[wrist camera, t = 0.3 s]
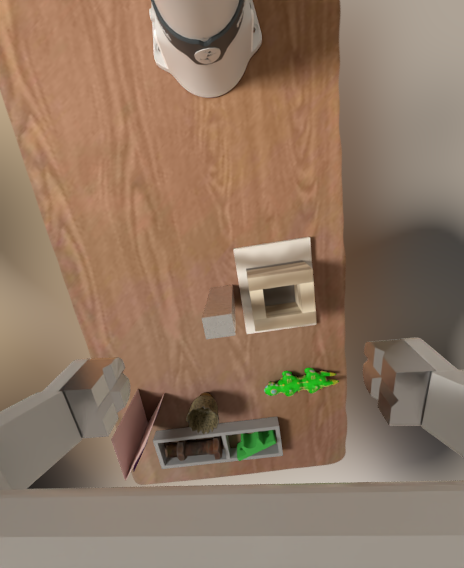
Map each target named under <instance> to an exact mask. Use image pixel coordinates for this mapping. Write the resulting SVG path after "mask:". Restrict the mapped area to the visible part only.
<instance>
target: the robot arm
mask: <svg viewBox="0 0 464 568" xmlns="http://www.w3.org/2000/svg"><path fill="white" fill-rule="evenodd" d="M151 1H152V8H150V9H149V13H150V18H151V21H152V24H153V48H154V59H155V62H156V64H157V65H158V66H159V67H160V68H161V69H163V70H165V71H167V72H169V73H171V74H172V75H173V76H174V77H175V78H176V80H177V81H178V82H179V83H180V84H181V85H182V86H183V87H184V88H185V89H186V90H187V91H189V92H191V93H192V94H194V95H197V96H200V97H206V98H210V97H217V96H220V95H223V94H225V93H227V92H228V91H230V90H231V89H232V88H233V87H234V86H235V85H236V84H237V83H238V82H239V80H240V79H241V77H242V76H243V74H244V72H245V69H246V67H247V64H248V62H249V60H250V58H251V57H252V56H253V55H254V53H255V52H256V51H257V50H258V49H259V47H260V46H261V43H262V34H261V30H260V26H259V23H258V19H257V15H256V11H255V8H254V4H253V0H151ZM253 30H255V32H254V33H253ZM159 49H160V52H159ZM364 354H365V355H366V357H367V358H368V360H367V361H366V362H365V363H364V364H363V378H364V383H365V386H366V388H367V390H368V392H369V393H370V395H371V396H372V397H374V398H376V399H377V400H378V408H379V410H380V412H381V413H382V415H383V416H384V418H385V420H386V421H387V423H388V425H389V426H422V428H424V429H425V430H426V431H428V432H429V433H430V434H432V435H433V436H435V437H436V438H437V439H439V440H440V441H442V442H443V443H444V444H446V445H447V446H448V447H450V448H451V449H452V450H454V451H455V452H457V453H458V454H460V455H461V456H462V457H463V458H464V370H458V369H456V368H455V367H454V366H453V365H452V364H450V363H449V362H448V361H447V360H446V359H444V358H443V357H442V356H441V355H440V354H439V353H437V352H436V351H435V350H434V349H432V348H431V347H430V346H429V345H428V344H427V343H425V342H424V341H423V340H422V339H420V338H417V337H415V338H405V339H397V340H385V341H373V342H366V344H365V348H364ZM124 369H125V366H124V363H123V360H122V359H120V358H119V357H115V358H92V359H78V360H75V361H73V362H72V363H71V364H70V365H69V366H68V367H67V368H66V369H65V370H64V371H63V372H62V373H61V374H60V375H59V376H58V377H57V378H56V379H55V380H54V381H53V382H52V383H51V384H50V385H49V386H47V388H46V389H44V390H43V391H42V392H40V393H35V394H33V395H32V396H30V397H28V398H26V399H24V400H22V401H20V402H18V403H16V404H14V405H12V406H11V407H9V408H7V409H5V410H3V411H1V412H0V568H464V480H462V481H461V480H459V481H411V482H410V481H409V482H358V483H306V484H260V485H259V484H257V485H256V484H255V485H208V486H206V485H205V486H159V487H158V486H156V487H111V488H110V487H109V488H59V489H27V488H28V487H29V486H30V485H31V484H32V483H33V482H35V481H36V480H37V479H38V478H39V477H40V476H41V475H43V473H45V472H46V471H47V470H48V469H49V468H50V467H51V466H53V465H54V464H55V463H56V462H57V461H58V460H59V459H61V458H62V457H63V456H64V455H65V454H66V453H67V452H68V451H70V450H71V449H72V448H73V447H74V446H75V445H76V444H78V443H79V442H80V441H81V440H82V438H91V437H105V436H109V434H110V432H111V431H112V429H113V427H114V425H115V424H116V422H117V420H118V414H117V413H118V412H119V411H120V410H121V409H123V408H124V407H125V406H126V404H127V402H128V400H129V395H130V383H129V379H128V378H127V377H126V376H125V375H124V374H123V371H124Z"/></svg>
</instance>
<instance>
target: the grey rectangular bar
mask: <svg viewBox="0 0 464 568" xmlns="http://www.w3.org/2000/svg"><path fill="white" fill-rule="evenodd" d="M202 322H203V327H204V331H205V336H206V339H212V338H220V337H227V336H234V335H235V297H234V291H233V285H227V286H221V287H214V288H210V291H209V295H208V298H207V302H206V305H205V308H204V312H203V315H202Z"/></svg>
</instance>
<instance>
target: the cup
mask: <svg viewBox="0 0 464 568" xmlns="http://www.w3.org/2000/svg"><path fill="white" fill-rule="evenodd" d="M186 422H188V423H189V428H191V431H192V432H194V431H196V430H197V433H200V431H201V432H202V433H203V434H205V433H207V434H208V433H209V432H210V430H211V432H213V430H214V428H217V427H218V423H219V418H218V407H217V403H216V401H215V400H214V398H213V397H212V395H211V394H210V393H202V394H201V395H200V396H199V397H197V398H196V399H195V400H194V401H193V403H192V405H191V408H190V410H189V413H188V415H187V419H186Z"/></svg>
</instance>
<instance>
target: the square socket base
mask: <svg viewBox="0 0 464 568" xmlns="http://www.w3.org/2000/svg"><path fill="white" fill-rule="evenodd" d="M233 250H234V256H235V262H236V269H237V275H238V281H239V288H240V294H241V300H242V307H243V313H244V319H245V326H246V332H247V334H251V333H258V332H266V331H273V330H280V329H288V328H295V327H302V326H309V325H316V309H315V295H314V280H313V269H312V258H311V243H310V237H304V238H297V239H291V240H285V241H278V242H272V243H265V244H259V245H253V246H246V247H240V248H234V249H233Z"/></svg>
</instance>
